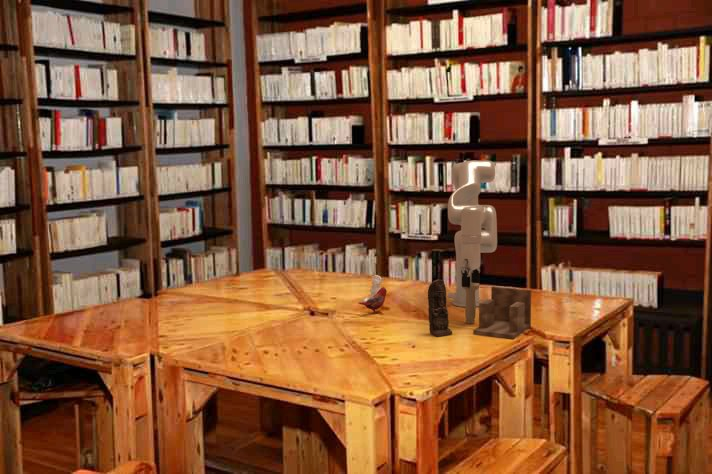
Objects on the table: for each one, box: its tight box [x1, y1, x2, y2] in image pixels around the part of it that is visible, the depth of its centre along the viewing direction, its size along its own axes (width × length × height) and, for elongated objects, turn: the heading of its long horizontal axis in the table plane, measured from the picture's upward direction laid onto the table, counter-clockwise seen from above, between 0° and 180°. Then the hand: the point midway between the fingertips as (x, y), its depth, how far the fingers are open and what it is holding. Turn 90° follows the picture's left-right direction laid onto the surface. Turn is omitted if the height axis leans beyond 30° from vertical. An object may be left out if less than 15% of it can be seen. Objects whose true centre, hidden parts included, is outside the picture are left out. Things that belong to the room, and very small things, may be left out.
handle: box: [462, 283, 480, 325], centre depth 306 cm, size 5×6×15 cm
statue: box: [427, 279, 453, 337], centre depth 291 cm, size 7×7×20 cm
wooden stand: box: [472, 285, 532, 340], centre depth 295 cm, size 15×20×14 cm
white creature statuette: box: [361, 274, 385, 302], centre depth 343 cm, size 10×9×12 cm
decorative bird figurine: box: [357, 286, 388, 315], centre depth 323 cm, size 3×18×10 cm, turn 137°
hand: (470, 284), depth 305 cm, fingers open, 9 cm apart
